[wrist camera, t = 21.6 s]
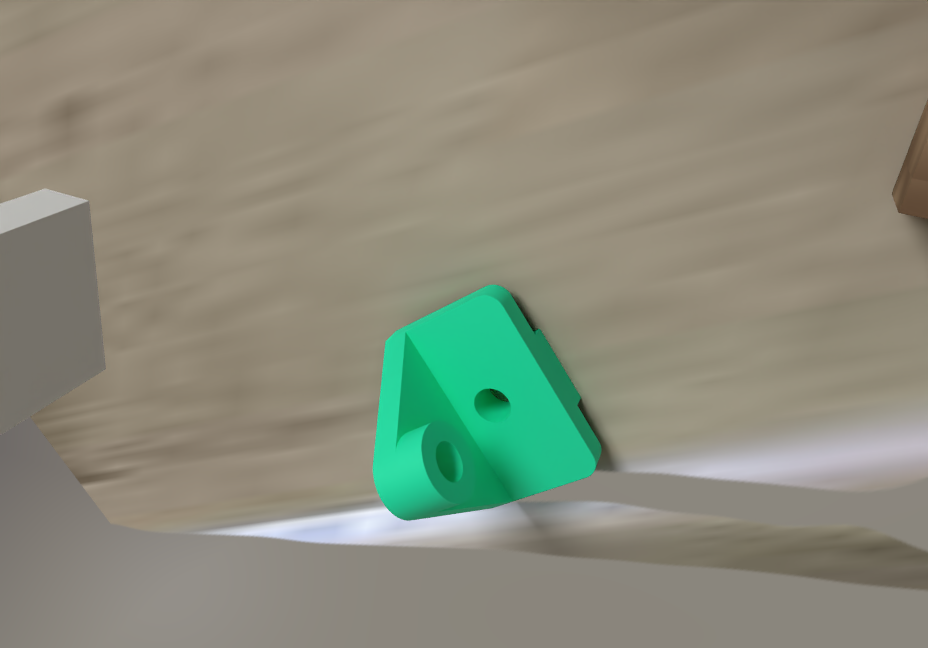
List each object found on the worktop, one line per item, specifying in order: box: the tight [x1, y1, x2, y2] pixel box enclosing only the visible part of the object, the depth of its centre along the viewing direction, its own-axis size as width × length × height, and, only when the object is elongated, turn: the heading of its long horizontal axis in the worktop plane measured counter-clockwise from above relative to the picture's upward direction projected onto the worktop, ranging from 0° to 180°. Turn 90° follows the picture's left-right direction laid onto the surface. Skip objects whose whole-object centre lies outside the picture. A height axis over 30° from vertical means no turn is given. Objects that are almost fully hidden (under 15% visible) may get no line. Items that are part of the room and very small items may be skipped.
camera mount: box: [373, 285, 601, 520], centre depth 44 cm, size 12×8×10 cm, turn 33°
